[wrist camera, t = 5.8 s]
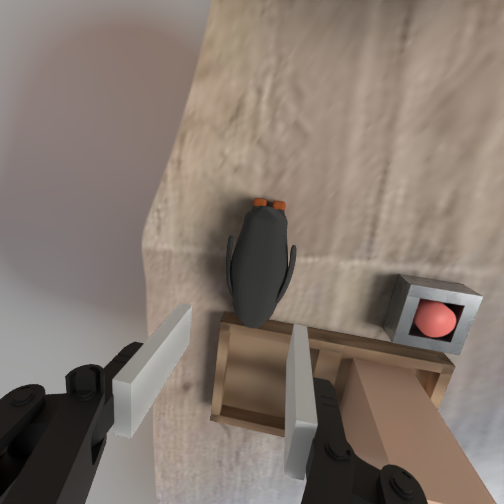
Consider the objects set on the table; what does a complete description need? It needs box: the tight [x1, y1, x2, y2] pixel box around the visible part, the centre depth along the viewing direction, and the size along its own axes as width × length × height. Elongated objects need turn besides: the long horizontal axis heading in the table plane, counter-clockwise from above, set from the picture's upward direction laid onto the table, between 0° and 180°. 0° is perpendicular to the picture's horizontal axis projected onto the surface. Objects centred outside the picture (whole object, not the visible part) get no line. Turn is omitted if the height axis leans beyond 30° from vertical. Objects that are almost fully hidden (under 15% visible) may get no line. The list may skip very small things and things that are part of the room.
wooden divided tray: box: [210, 312, 455, 437], centre depth 35 cm, size 15×27×3 cm, turn 82°
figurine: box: [226, 198, 296, 328], centre depth 29 cm, size 7×10×15 cm
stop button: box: [413, 298, 456, 337], centre depth 30 cm, size 4×4×3 cm
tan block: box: [339, 358, 496, 504], centre depth 27 cm, size 10×7×15 cm
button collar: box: [383, 274, 483, 355], centre depth 30 cm, size 7×7×3 cm
